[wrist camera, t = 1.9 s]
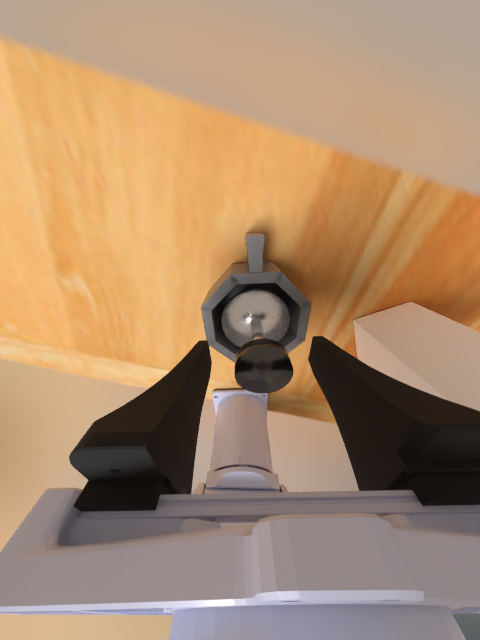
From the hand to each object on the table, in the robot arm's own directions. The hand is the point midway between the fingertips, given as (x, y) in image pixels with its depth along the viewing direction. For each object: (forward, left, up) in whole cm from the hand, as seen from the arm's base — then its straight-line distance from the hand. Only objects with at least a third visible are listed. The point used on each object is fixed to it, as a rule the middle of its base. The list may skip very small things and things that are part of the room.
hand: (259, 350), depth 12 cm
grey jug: (+1, 0, -7) cm, 8 cm away
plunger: (0, 0, -4) cm, 4 cm away
